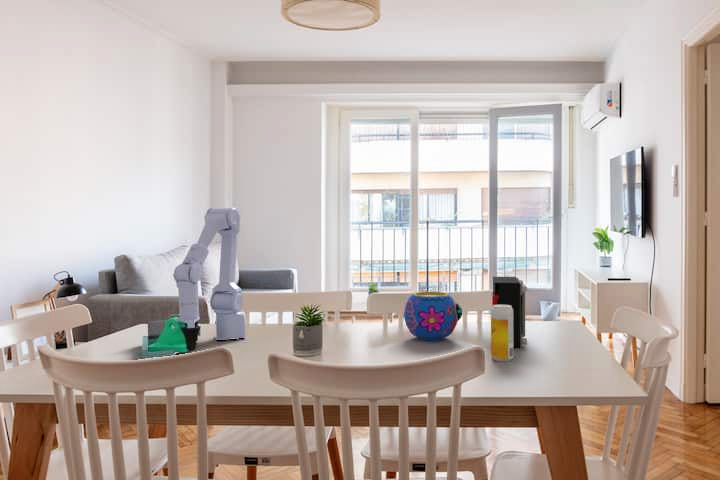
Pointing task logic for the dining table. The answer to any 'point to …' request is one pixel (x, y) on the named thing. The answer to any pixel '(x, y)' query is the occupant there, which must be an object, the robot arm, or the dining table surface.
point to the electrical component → (512, 304)
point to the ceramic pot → (431, 315)
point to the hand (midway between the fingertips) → (190, 347)
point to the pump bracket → (147, 354)
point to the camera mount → (170, 338)
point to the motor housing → (160, 327)
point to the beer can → (502, 332)
